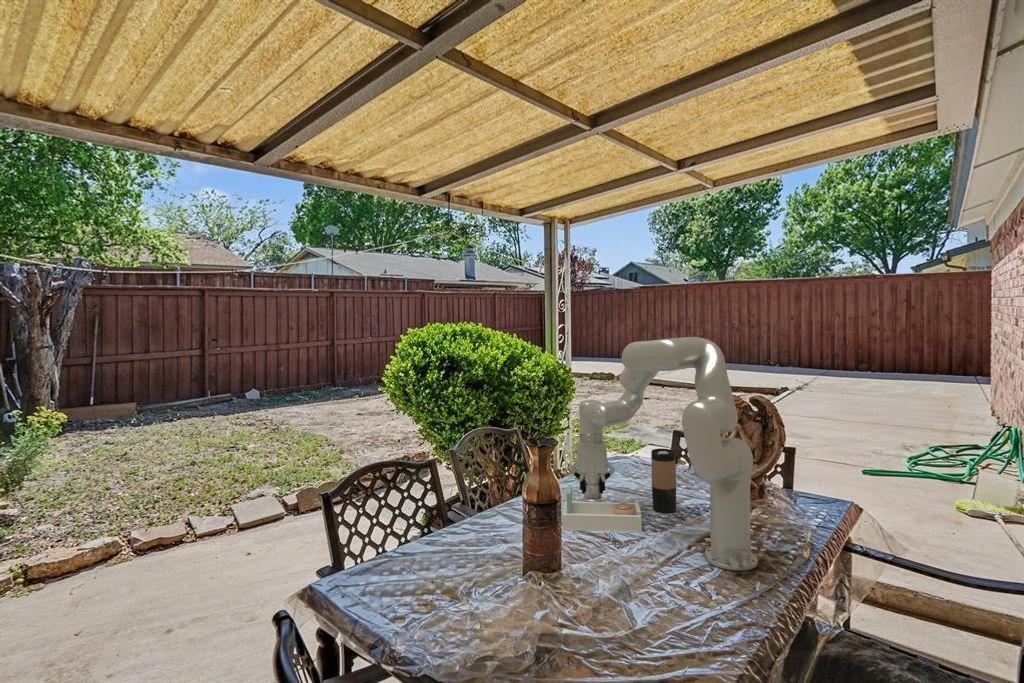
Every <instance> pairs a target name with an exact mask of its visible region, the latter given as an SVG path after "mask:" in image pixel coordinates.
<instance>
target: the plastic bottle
mask: <svg viewBox="0 0 1024 683" xmlns="http://www.w3.org/2000/svg"><path fill="white" fill-rule="evenodd" d="M588 472H589V473H587V474H584V477H583V478H584V494H583V499H582V502H604V500H603V499H604V498H603V494H602V493H601V476H600V475H601V474H597V473H596V468H594V467H589V469H588Z"/></svg>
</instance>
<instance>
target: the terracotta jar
mask: <svg viewBox="0 0 1024 683" xmlns="http://www.w3.org/2000/svg"><path fill="white" fill-rule="evenodd" d="M618 503H619V504H616V505H615V506H614V515H634V507H633V506H632V505H630V504H627V503H628V502H618Z"/></svg>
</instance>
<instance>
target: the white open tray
mask: <svg viewBox="0 0 1024 683" xmlns="http://www.w3.org/2000/svg"><path fill="white" fill-rule="evenodd" d="M619 503H620V502H608V501H607V502H606V501H603V502H583V501H572V514H567V500H566V501H564V504H563V509H562V530H563V531H585V532H586V531H587V532H589V531H592V532H618V533H619V532H623V533H642V532H643V531H642V530H643V528H642V526H643V524H642V511H641V506H640V502H639V501H638V500H634V501H633V502H626V503H627V504H630V505H632V506H633V507H634V515H614V506H615V505H616V504H619Z"/></svg>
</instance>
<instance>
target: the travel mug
mask: <svg viewBox="0 0 1024 683" xmlns="http://www.w3.org/2000/svg"><path fill="white" fill-rule="evenodd" d="M650 455H651V456H650V457H651V458H650V459H651V492H652V493H651V496H652V498H651V499H652V509H653V511H654V512H656V513H659V514H666V515H669V514H674V513H676V512H677V470H676V469H677V466H676V465H677V464H676V451H675V450H673V449H670V448H654V449H651V454H650Z"/></svg>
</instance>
